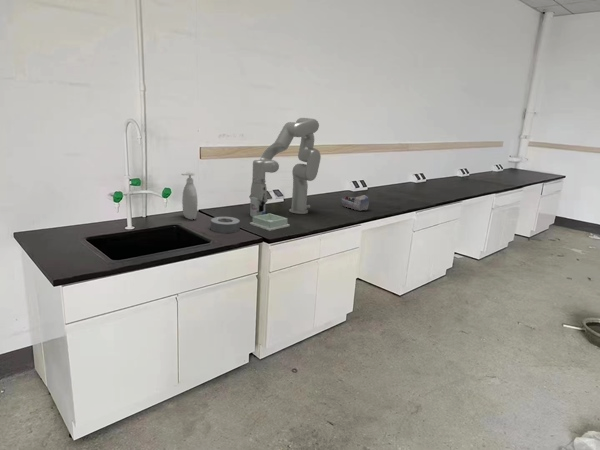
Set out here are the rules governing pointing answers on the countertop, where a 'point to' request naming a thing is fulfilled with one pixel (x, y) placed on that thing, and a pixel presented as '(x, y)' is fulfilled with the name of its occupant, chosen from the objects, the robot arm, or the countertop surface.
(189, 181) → the soap bottle
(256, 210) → the ink box
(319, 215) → the countertop surface
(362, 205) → the cell model
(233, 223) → the tape roll
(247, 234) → the countertop surface
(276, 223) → the dock
